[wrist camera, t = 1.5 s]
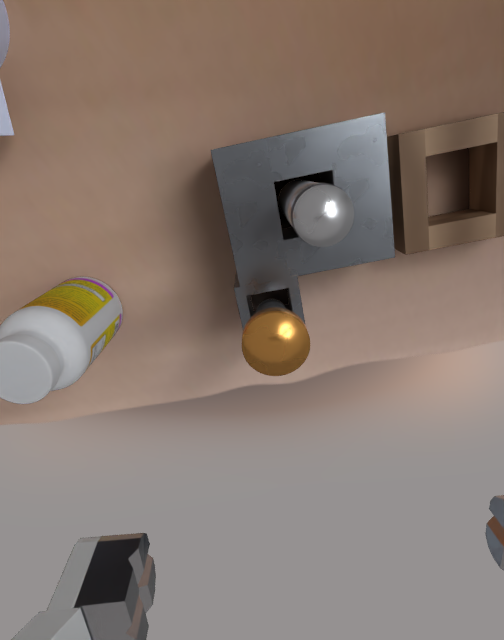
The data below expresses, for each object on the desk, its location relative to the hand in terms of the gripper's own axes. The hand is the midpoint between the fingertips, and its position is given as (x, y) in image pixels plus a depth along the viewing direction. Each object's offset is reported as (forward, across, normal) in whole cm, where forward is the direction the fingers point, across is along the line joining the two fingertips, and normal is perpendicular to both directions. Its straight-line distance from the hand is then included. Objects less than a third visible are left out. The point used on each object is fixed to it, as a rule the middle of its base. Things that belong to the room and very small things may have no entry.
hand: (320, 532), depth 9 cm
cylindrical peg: (+29, -4, -5) cm, 29 cm away
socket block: (+29, -4, -3) cm, 29 cm away
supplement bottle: (+30, +16, +3) cm, 34 cm away
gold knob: (+23, -1, +3) cm, 23 cm away
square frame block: (+28, -16, -6) cm, 33 cm away
